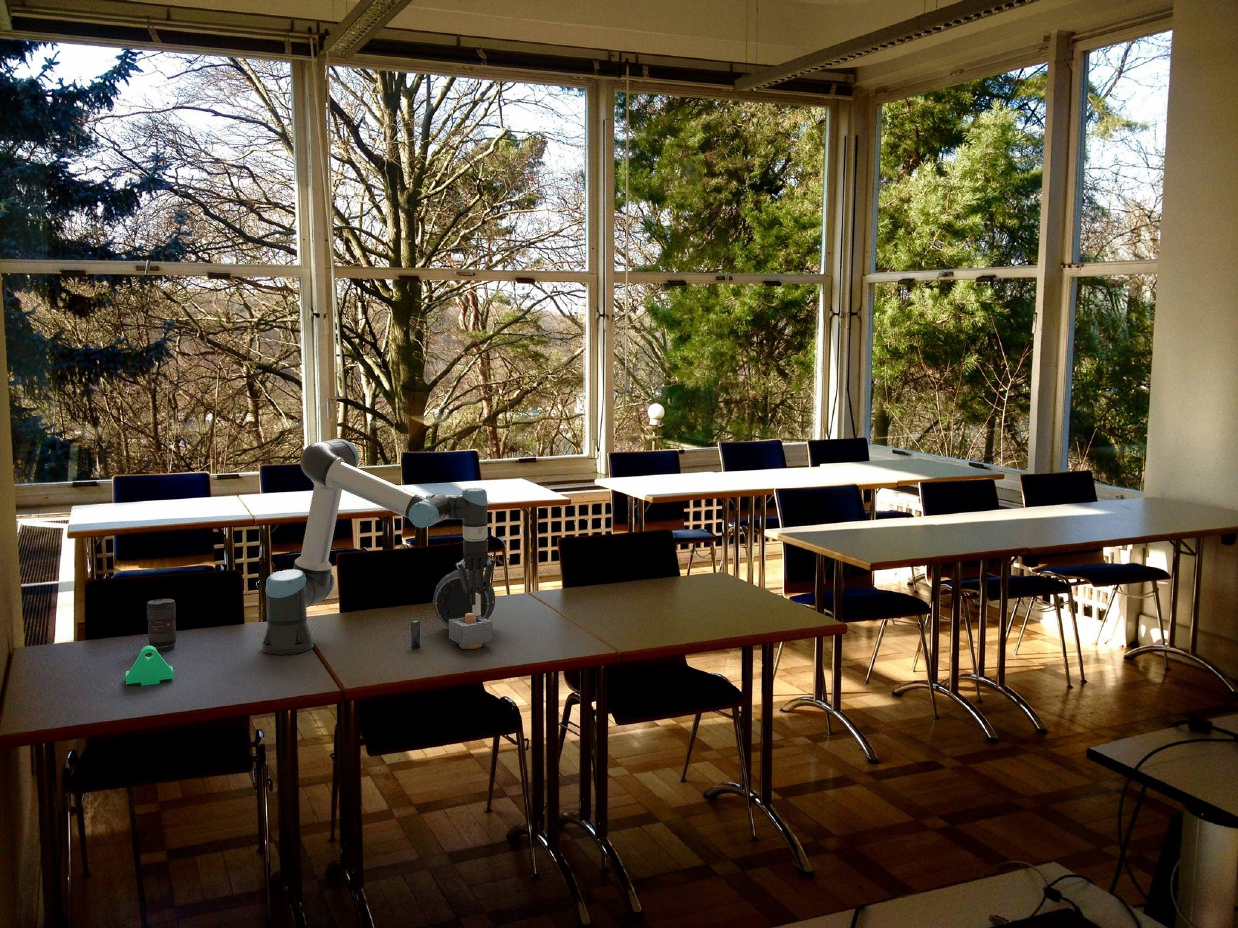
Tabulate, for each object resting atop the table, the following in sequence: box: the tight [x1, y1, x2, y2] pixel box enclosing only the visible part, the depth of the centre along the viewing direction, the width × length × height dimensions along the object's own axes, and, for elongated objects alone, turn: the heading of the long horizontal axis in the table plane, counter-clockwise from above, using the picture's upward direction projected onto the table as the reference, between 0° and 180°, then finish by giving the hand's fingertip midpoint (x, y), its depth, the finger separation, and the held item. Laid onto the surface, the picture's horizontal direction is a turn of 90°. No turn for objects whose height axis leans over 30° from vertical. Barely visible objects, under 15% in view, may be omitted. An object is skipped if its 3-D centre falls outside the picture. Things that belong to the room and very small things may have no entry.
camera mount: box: [125, 645, 175, 686], centre depth 296 cm, size 12×8×10 cm, turn 116°
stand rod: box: [410, 619, 421, 649], centre depth 329 cm, size 3×3×8 cm
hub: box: [458, 613, 483, 650], centre depth 331 cm, size 7×7×10 cm
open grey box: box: [448, 616, 493, 646], centre depth 331 cm, size 10×10×6 cm
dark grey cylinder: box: [146, 598, 177, 653], centre depth 326 cm, size 8×8×15 cm
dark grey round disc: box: [432, 568, 496, 629], centre depth 349 cm, size 11×20×20 cm, turn 89°
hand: (476, 614), depth 327 cm, fingers closed
